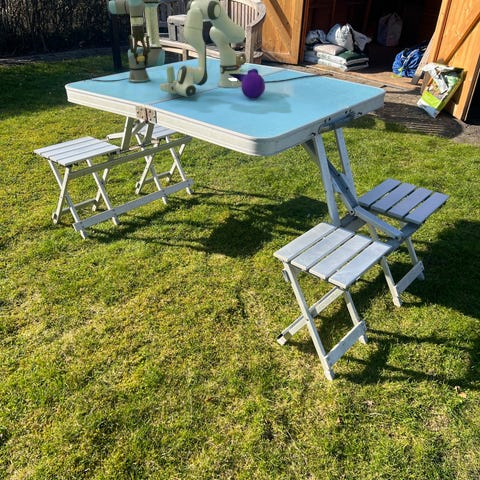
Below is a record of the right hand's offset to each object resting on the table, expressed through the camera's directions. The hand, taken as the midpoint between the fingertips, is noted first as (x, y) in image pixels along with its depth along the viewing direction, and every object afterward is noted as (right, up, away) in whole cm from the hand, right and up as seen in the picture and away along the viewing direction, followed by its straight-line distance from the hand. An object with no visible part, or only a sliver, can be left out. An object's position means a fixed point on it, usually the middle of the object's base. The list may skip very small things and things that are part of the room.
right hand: (171, 83), depth 298 cm
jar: (+1, -6, +3) cm, 7 cm away
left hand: (-18, +10, -6) cm, 21 cm away
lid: (-18, +14, -8) cm, 24 cm away
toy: (+52, -12, -9) cm, 54 cm away
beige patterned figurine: (+41, +35, +72) cm, 90 cm away
